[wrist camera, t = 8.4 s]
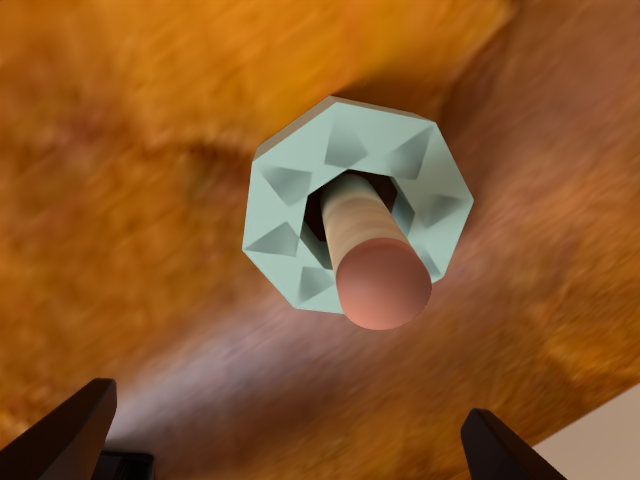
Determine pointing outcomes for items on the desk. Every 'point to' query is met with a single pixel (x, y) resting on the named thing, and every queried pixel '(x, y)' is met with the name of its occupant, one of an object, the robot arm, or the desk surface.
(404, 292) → the beige cylindrical peg
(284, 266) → the bead
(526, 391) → the desk surface
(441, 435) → the desk surface
